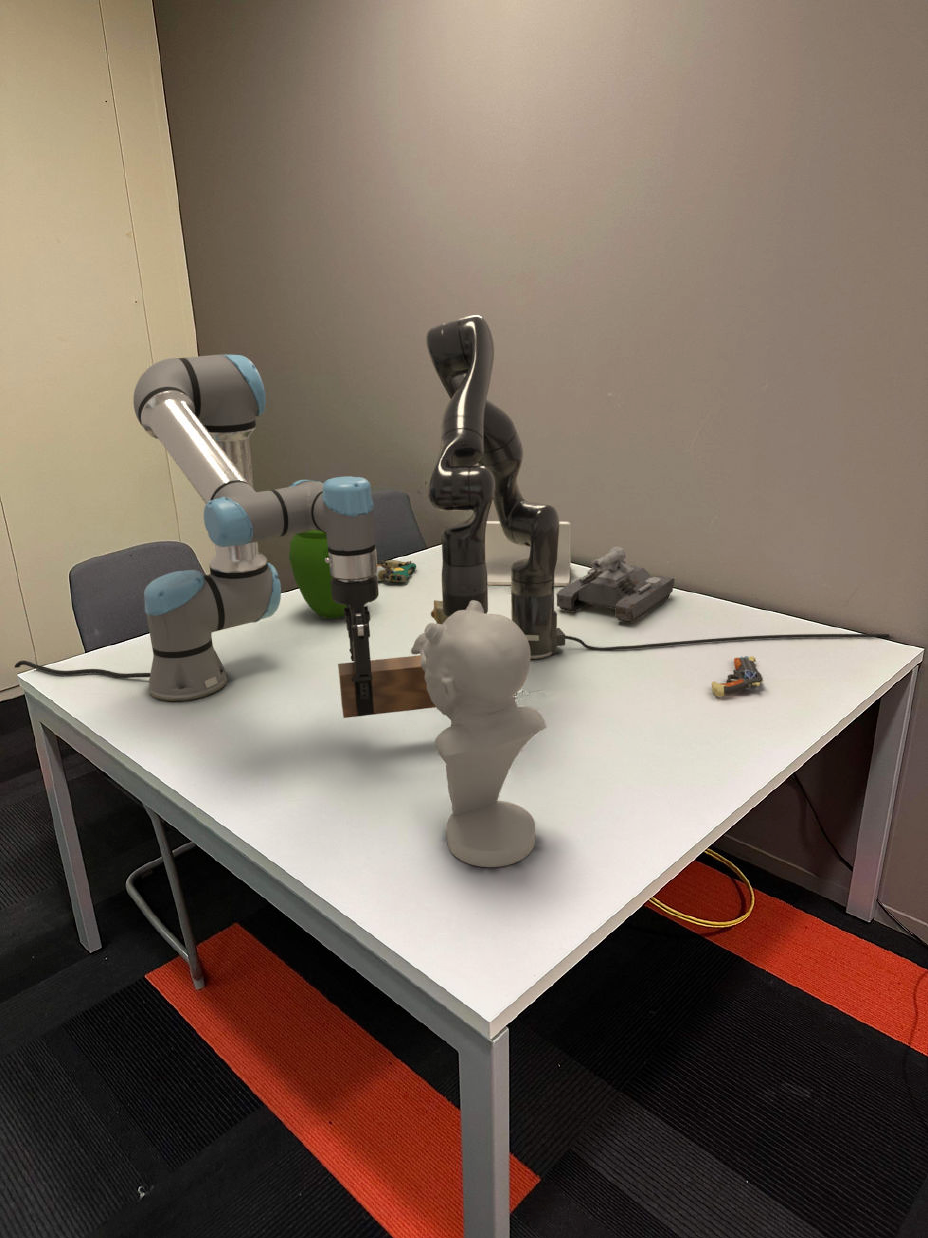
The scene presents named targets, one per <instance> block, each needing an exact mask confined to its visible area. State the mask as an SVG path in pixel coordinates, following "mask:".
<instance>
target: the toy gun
mask: <svg viewBox="0 0 928 1238" xmlns="http://www.w3.org/2000/svg"><path fill="white" fill-rule="evenodd" d="M756 662H757V658H756V657H755V656H753V655H752V656H747V655H745V656H744V657H743V656H740V657H734V658H733V664H734V668H735V669H733V670H732V671H733V673H732V674H731V673H730V674H728V675H727V679H726V682H722V683H721V682H720V683H718V682H717V681H712V682H711V691H712V693H713V695H714V696H715V697H719V698H720V697H724V696H728V695H731V694H735V693H737V692H741V691H745V690H746V689H750V688H752V687H754V686H756V687H760V685H761V683H763V682H765V680H764V679H763V676H762V673H760V671H758V669H757V666H756V664H755V663H756Z"/></svg>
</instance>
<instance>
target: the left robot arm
mask: <svg viewBox="0 0 928 1238" xmlns="http://www.w3.org/2000/svg"><path fill="white" fill-rule="evenodd" d="M132 404H133V408H134V409H133V410H134V413H135V416H136V418H137V420H138V422H139V424H140V426H141V427H142V428H143V429H144V431H145V432H146V433H147V435H149V436H150V437H152V438H153V439H157V440H159V442H160V443H161V444H162V445H163V447H164V448H165V450H166V452H167V453H168V454H169V455H170V456H171V458H172V460H173V461H174V463H175V464H176V465H177V466H178V468H179V469H180V471H181V472H182V473H183V475H184V477H186V479H187V480H188V481H189V483H190V485H192V487H193V488H194V490H195V491H196V493H197V494H198V495H199V497H200V498H201V500H202V501H203V502H204V504H205V506H204V507H203V508H204V509H203V522H204V527H205V530H206V531H207V534H208V538H209V539H210V541H211V542H212V543H213V545H214V548H215V549H214V551H215V556H214V557H212V559H210V561H209V563H208V564H209V565H208V566H209V571H210V572H209V574H206V575H203V573H202V572H201V571H200V570H196V569H186V570H177V571H173V572H169V573H166V574H163V575H162V576H159V577H157V578H155V579H153V580H152V581H150V583H148V584H147V585H146V587H145V588H144V590H143V591H144V592H143V601H144V613H145V615H146V620H147V626H148V631H149V636H150V643H151V648H152V654H153V655H152V661H151V668H150V672H129V673H122V672H121V673H120V672H114V671H110V670H106V669H101V668H84V669H72V670H71V669H70V670H61V669H60V670H59V669H54V668H51V667H47V666H44V665H40V664H36V663H34V662H32V661H31V662H30V661H29V660H19V661H18V662H16V663H15V665H14V669H16V668H20V667H21V666H27V667H30V668H32V669H35V670H39V671H43V672H46V673H49V674H54V675H58V676H72V675H73V676H74V675H84V674H100V675H101V674H102V675H106V676H109V677H113V678H120V679H131V678H132V679H133V678H134V679H135V678H149V679H148V688H149V694H150V695H151V696H152V697H153V698H156V699H157V700H161V701H166V702H186V701H193V700H197V699H202V698H204V697H208V696H211V695H212V694H214V693H217V692H218V691H219V690H221V689H223V688H224V687H225V685H227V682H228V679H227V672H226V668H225V667H224V665H223V663H222V661H221V659H220V657H219V654H218V653H217V651H216V649H215V647H214V644H213V636H212V633H215V632H219V631H222V630H227V629H231V628H235V627H239V626H243V625H247V624H252V623H258V622H260V621H261V620H264V619H267V618H270V617H272V616H273V615H274V614H276V612H277V611H278V609H279V607H280V604H281V600H282V599H281V598H282V585H281V579H279V573H278V571H277V569H276V567H275V566H274V565H273V564H272V563H270V562H268V558H267V557H266V556H265V554H263V553H262V552H260V548H259V547H260V546H259V542H261V541H266V540H271V539H276V538H281V537H286V536H287V537H288V536H290V535H291V536H292V535H295V534H297V533H302V532H307V531H312V530H318V531H321V532H324V533H326V535H327V545H328V552H329V556H330V557H327V558H325V562H326V563H330V574H331V576H333V577H332V579H331V592H332V599H333V600H334V601H335V602H336V603H339V604H342V605H344V604H346V605H347V608H344V616H345V617H344V619H345V620H344V621H345V623H346V625H345V626H346V630H347V635H348V639H349V653H350V660H351V662H354V666H355V678H351V682H355V691H356V704H357V715H358V716H357V717H365V716H364V715H366V716H373V715H372V714H374V707H373V693H372V679H373V677H372V674H371V661H370V660H372V658H371V651H370V637H371V629H370V622H371V615H370V613H371V612H370V610H369V606H368V605H366V604H368V603H372V602H374V601H376V600H377V599H378V597H379V581H378V577H377V576H376V575H375V573H377V562H378V557H377V547H376V533H375V531H376V529H375V515H374V514H375V513H374V507H375V504H374V500H373V495H372V487H371V483H370V482H369V480H368V479H366V478H365V477H361V476H351V475H350V476H348V475H347V476H338V477H332V478H329V479H327V480H325V481H324V482H322V481H318V480H315V479H300V480H297V481H294V482H293V483H292V484H291V485H289V486H287V487H282V488H275V489H269V490H263V491H256V490H255V489H254V480H253V478H254V477H253V468H252V458H251V446H250V445H251V444H250V436H251V434H252V433H253V432H254V431H255V430H256V428H257V424H256V423H257V421H256V417H260V416H261V415H263V414H264V413H265V411H266V406H267V405H266V404H267V397H266V391H265V385H264V383H263V379H262V377H261V375H260V373H259V370H258V369H257V367H256V366H255V364H254V363H253V362H252V361H251V360H250V359H249V358H248V357H246V356H244V355H240V354H225V353H224V354H222V353H221V354H211V355H201V356H199V355H198V356H188V357H187V356H186V357H171V358H165V359H162V360H159V361H156V362H155V363H153V364H152V365H150V366H149V367H148V368H146V370H145V371H143V373H141V375H140V377H139V379H138V381H137V383H136V385H135V388H134V390H133V403H132Z"/></svg>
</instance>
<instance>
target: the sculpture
mask: <svg viewBox="0 0 928 1238" xmlns="http://www.w3.org/2000/svg"><path fill="white" fill-rule="evenodd" d="M430 617H431V618H432V619H433V620H434V621H435V622H436V623H435V624H443V623H444V622H445V620H446V619H447V618H448V617H446V616H445V615H444V613H443V600H433V610H431V612H430Z"/></svg>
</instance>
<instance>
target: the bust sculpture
mask: <svg viewBox="0 0 928 1238" xmlns="http://www.w3.org/2000/svg"><path fill="white" fill-rule="evenodd" d="M530 653H531V652H530V646H529V643H528V640H527V638H526V636H525V634H524V633H523V632H522V630H521V629H520V628H519V627H518V626H517V625H516V624H515V623H514V622H513V621H512V620H511V618H508V617H507V616H504V615H503V614H502V615H501V614H496V613H487V614H485V613H484V609H483V608H482V605H481V603H480V602H478V601H474V600H472V601H470V603H469V605H468V607H467V609H466V610H459V611H457V612H455V613H453V614H452V615H451V616H450V617H448V618H447V619H446V620H445V622H444V623H443V624H436V623H435V622H430V623H428V624H427V625H426V626H425V628H424V632H423V633H421V634H419V635H418V636H417V637H416V638H415V640H414V642H413V645H412V647H411V649H410V654H412V655H421V667H422V669H423V670H424V671H425V681H426V683H427V691H428V693H429V695H430V698H431V701H432V702H433V703H434V704H435V706H436V710H438V711H439V712H440V713H441V714H442V716H446V717H447V718H448V719H449V720H450V726H448V727H446V728H445V729H443V730H442V731H441V732H440V733H439V734H438V735H436V738H435V741H434V748H435V749H436V752H437V753H438V755H439V757H440V758H441V760H442V761H443V762H444V763H445V771H446V781H447V790H448V796H449V800H450V803H451V810H452V813H451V814H450V815H449V817H448V819H447V822H446V844H447V847H448V849H449V851H450V852H451V854H452V855H453V856H454V857H456V858H457V859H459V860H460V861H462V862H463V863H466V864H469V865H471V866H476V867H483V868H498V867H505V866H509V865H512V864H517V862H520V861H521V860H523V859H525V858H527V856H528V855H530V854H531V852H532V851H533V849H535V848H534V847H535V845H536V822H535V821H536V820H535V819H534V817H533V816H532V814H531V813H530V812H529V811H528V810H526V809H525V808H524V807H522V806H520V805H517V804H515V803H513V802H509V801H504V800H499V796H500V793H501V790H502V788H503V785H504V783H505V780H506V778H507V776H508V773H509V771H510V769H511V768H512V765H513V763H514V761H515V760H516V759H517V756H518V755H519V753H520V752H521V750H522V749H523V748H524V747H525V745H526V744H527V743H528V742H529V741H530V740H531V739H532V738H533V737H535V735H537V734H538V733H539V732H541V731H544V730H545V729H546V728H547V725H546V723H545V720H544V718H543V717H542V714H541V713H540V712H539V711H538V710H537V709H535V708H533V707H530V706H518V705H517V701H516V699H517V698H516V696H515V695H516V694H517V693H519V691H521V689H522V688H523V686H524V684H525V683H526V680H527V678H528V675H529V669H530V666H531V659H530V656H531V655H530Z"/></svg>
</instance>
